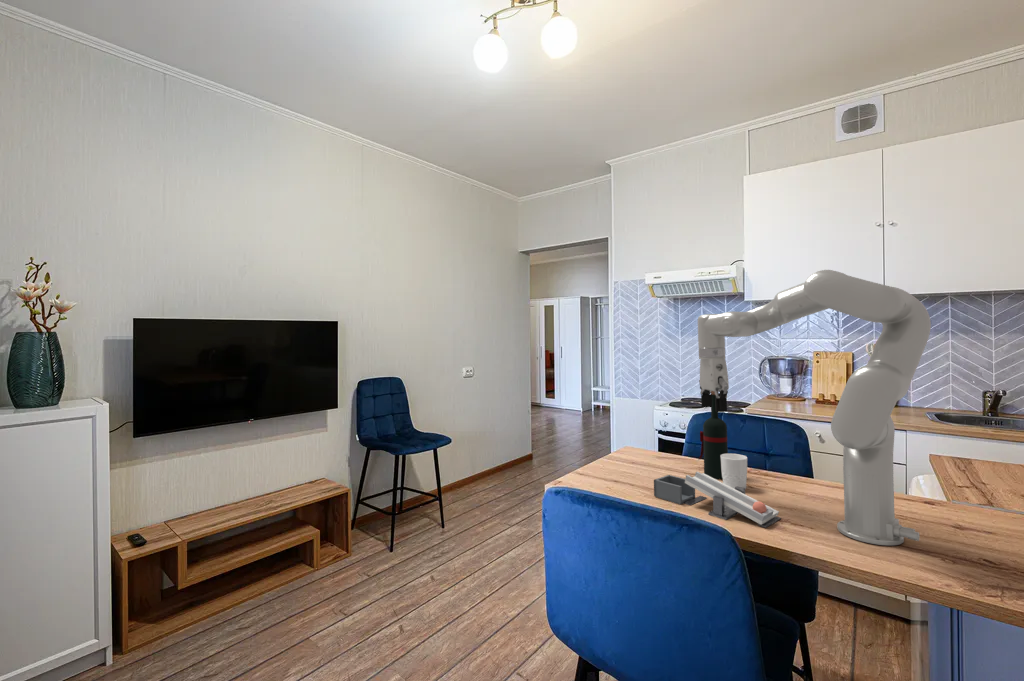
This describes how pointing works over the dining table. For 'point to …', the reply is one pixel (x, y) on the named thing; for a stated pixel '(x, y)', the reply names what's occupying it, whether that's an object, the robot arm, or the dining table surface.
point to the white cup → (734, 470)
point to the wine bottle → (713, 442)
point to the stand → (726, 508)
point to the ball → (759, 507)
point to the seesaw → (730, 497)
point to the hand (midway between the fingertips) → (713, 409)
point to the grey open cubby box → (673, 489)
